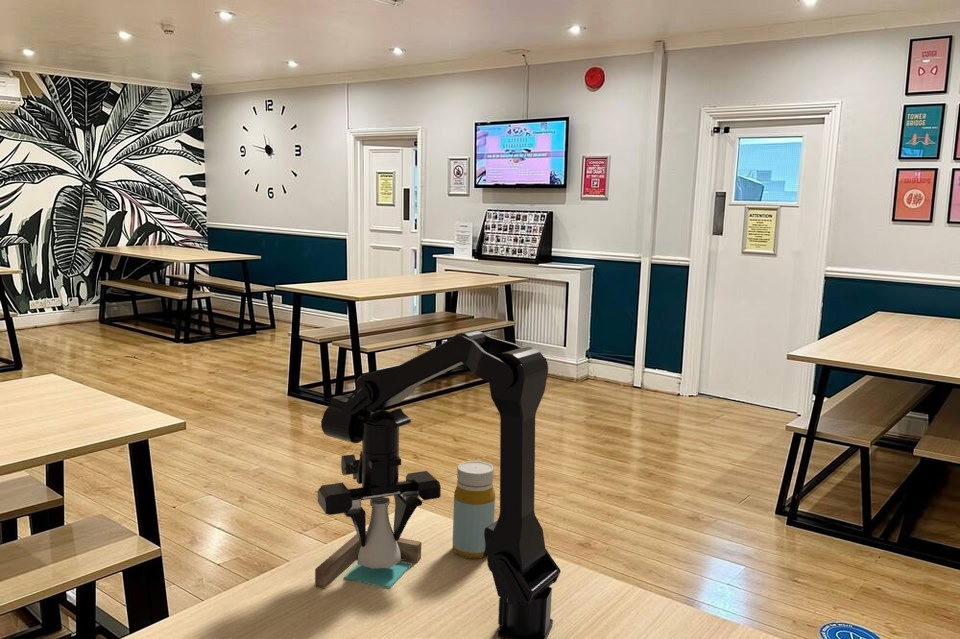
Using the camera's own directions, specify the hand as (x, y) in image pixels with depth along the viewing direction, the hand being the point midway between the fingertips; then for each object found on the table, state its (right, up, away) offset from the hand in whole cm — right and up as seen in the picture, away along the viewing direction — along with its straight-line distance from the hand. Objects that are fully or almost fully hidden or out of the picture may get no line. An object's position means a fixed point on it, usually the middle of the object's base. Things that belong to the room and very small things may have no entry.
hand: (379, 542), depth 118 cm
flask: (0, -3, +1) cm, 3 cm away
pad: (0, -5, +1) cm, 5 cm away
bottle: (+15, -4, +9) cm, 18 cm away
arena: (-1, -5, 0) cm, 5 cm away
